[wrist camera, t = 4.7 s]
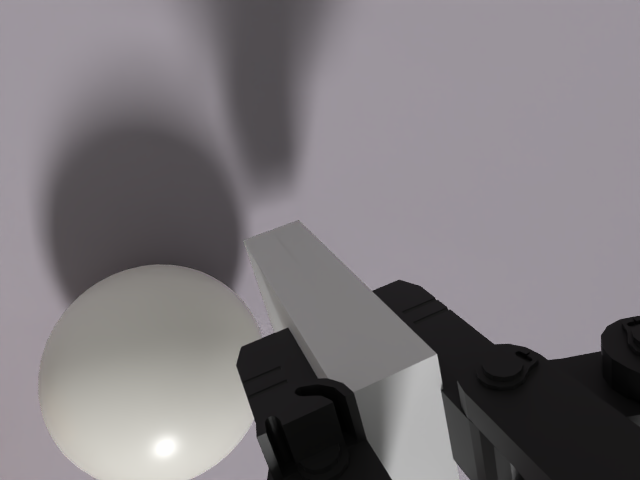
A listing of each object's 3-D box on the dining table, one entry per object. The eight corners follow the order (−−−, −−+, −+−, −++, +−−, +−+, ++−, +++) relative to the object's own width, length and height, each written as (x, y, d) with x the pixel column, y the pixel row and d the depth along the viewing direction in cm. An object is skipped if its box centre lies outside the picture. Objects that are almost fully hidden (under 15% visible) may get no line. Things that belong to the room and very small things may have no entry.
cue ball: (252, 266, 10) (-35, 397, 9) (325, 457, 13) (105, 591, 11) (198, 211, 15) (7, 290, 14) (258, 356, 17) (98, 439, 16)
